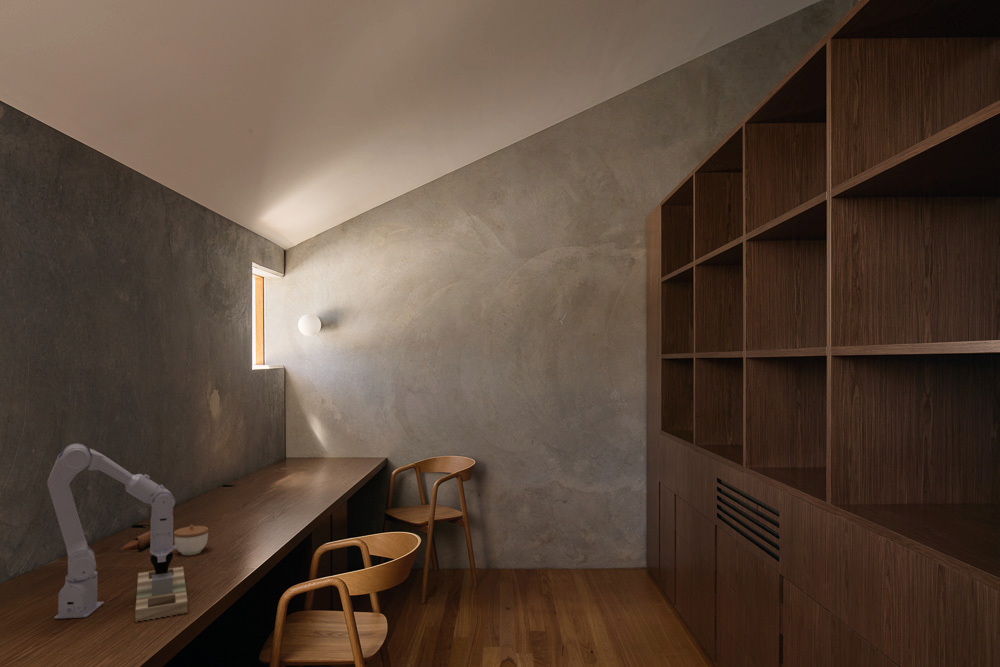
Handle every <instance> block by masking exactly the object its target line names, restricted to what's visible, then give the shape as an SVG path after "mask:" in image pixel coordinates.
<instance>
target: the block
mask: <svg viewBox="0 0 1000 667" xmlns="http://www.w3.org/2000/svg"><path fill="white" fill-rule="evenodd" d="M172 592H173V575H172V572H170V573H163V574H157V575H152V596H153V595H159V594H166V593H172Z"/></svg>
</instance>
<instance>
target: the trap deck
mask: <svg viewBox="0 0 1000 667" xmlns="http://www.w3.org/2000/svg"><path fill="white" fill-rule="evenodd" d="M184 571H185V570H184V566H183V565H182V566H175V567H168V572H167V573H170V572H172V575H173V592H172V593H166V594H159V595H153V596H152V575H156V573H155V569H154V570H149V571H142V572H138V573H137V586H136V597H135V598H136V599H135V600H136V602H135V617H134V618H135V619H134V620H135V622H136V623H139V622H138V621H142V622H144V621H143V620H148V621H150V620H149V619H153V620H156V619H155V618H159V619H162V618H161V617H165V618H167V617H166V616H170V617H173V616H172V615H176V616H178V615H177V614H182V613H189V612H188V609H189V608H188V606H189V605H188V604H189V603H188V602H189V601H188V595H187V594H188V593H187V587H186V581H185V580H186V579H185V572H184ZM182 615H183V614H182ZM135 622H134V623H135Z"/></svg>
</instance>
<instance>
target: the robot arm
mask: <svg viewBox="0 0 1000 667" xmlns="http://www.w3.org/2000/svg"><path fill="white" fill-rule="evenodd" d="M86 468H87V471H100V472H102V473H104V474H106V475H108V476H110V477H111V478H113V479H114V480H117V481H118V482H120V483H121V484H124V486H125V492H127V493H128V494H129V495H131V496H133V497H135V498H136V499H138V500H140V501H141V502H143V503H144V504H149V505H150V506H151V516H150V531H151V537H150V545H149V546H150V547H149V548H150V549H149V554H151V555H150V563H151V564H152V566H153V568H154V570H155V573H156V575H157V574H163V573H167V572H168V568H170V565H171V562H172V560H173V557H174V556H173V555H174V553H173V551H174V550H177V545H175V544H174V515H173V512H174V507H175V504H176V500H175V496H174V494H173V493H171V491H170V490H168V488H166V487H165V486H164V485H163V484H158V483H157V482H155V481H154V480H151V477H150V476H149V475H148V474H146V473H145V474H142V473H137V474H133V473H131V472H130V471H128V470H126V469H125V468H124V467H122V466H120V464H118V463H116V462H114V461H113V460H112V459H111V458H109V457H107V456H106V455H104V454H102V453H101V452H99V451H96V450H95V449H92V448H89V449H88V447H87V446H85V445H84V444H82V443H78V442H77V443H71V444H69V445H67V446H66V447H65V448H64V449H63V450H62V451H61V452H60V453H59V454H58V455H57V458H56V460H55V463H54V465H53V467H52V469H51V472H50V473H49V476H48V478H47V488H48V491H49V494H50V498H51V501H52V503H53V505H52V506H53V509H54V512H55V515H56V517H57V521H58V525H59V528H60V532H61V535H62V538H63V542H64V544H65V548H66V553H67V575H65V578H64V579H65V583H64V585H63V586H62V588H61V589H60V591H59V592H58V600H57V601H58V603H57V604H58V605H57V606H58V607H57V609H58V610H57V611H58V613H57V614H56V615H55V616H54V619H55V620H56V619H73V618H74V619H77V618H87V617H89V616H90V615H91V614H92V613H94V612H95V611H96V610H97V609H98V608H100V607H101V606H103V605H104V601H98V571H96V569H97V561H96V555H95V552H94V550H92V548H90V547H89V545H88V542H87V539H86V537H85V533H84V529H83V527H82V523H81V519H80V516H79V513H78V509H77V507H76V506H77V505H76V502H75V500H74V499H75V498H74V495H73V492H72V489H71V485H70V484H71V482H72V481H73V480H74V479H75V477H76V475H77V474H79V473H80V472H81V471H83V470H84V469H86Z"/></svg>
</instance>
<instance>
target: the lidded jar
mask: <svg viewBox="0 0 1000 667" xmlns="http://www.w3.org/2000/svg"><path fill="white" fill-rule="evenodd" d="M208 540H209V528H208V526H205V525H193V524H190V525H189V526H185V527H181V528H178V529H175V530H174V531H173V542H174V545H177V549H176V550H177V552H179V553H180V554H181V555H183V556H195V555H198V554H200V553H202V550H204V548H205V547H206V545H207V543H208Z"/></svg>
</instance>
